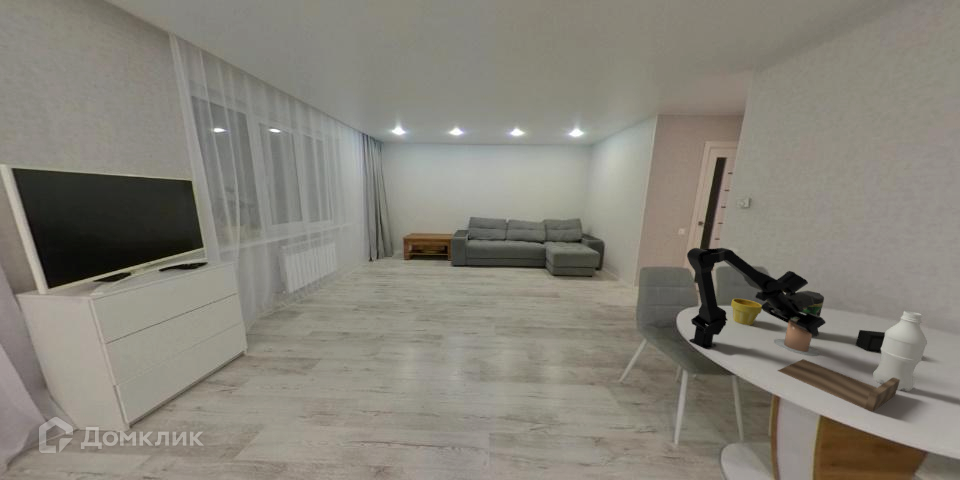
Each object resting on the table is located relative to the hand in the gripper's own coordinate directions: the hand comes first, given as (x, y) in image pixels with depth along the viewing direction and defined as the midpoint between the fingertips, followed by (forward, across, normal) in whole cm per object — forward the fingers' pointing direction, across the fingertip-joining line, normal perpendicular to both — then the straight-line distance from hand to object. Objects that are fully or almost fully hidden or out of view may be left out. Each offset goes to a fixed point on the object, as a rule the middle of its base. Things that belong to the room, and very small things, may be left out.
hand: (804, 329), depth 107 cm
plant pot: (+4, +23, +8) cm, 25 cm away
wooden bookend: (-2, -21, +14) cm, 25 cm away
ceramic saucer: (+5, 0, +7) cm, 9 cm away
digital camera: (+28, +3, -16) cm, 33 cm away
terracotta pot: (+4, 0, +6) cm, 8 cm away
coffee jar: (+17, +16, -5) cm, 24 cm away
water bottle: (+11, -20, +1) cm, 23 cm away
